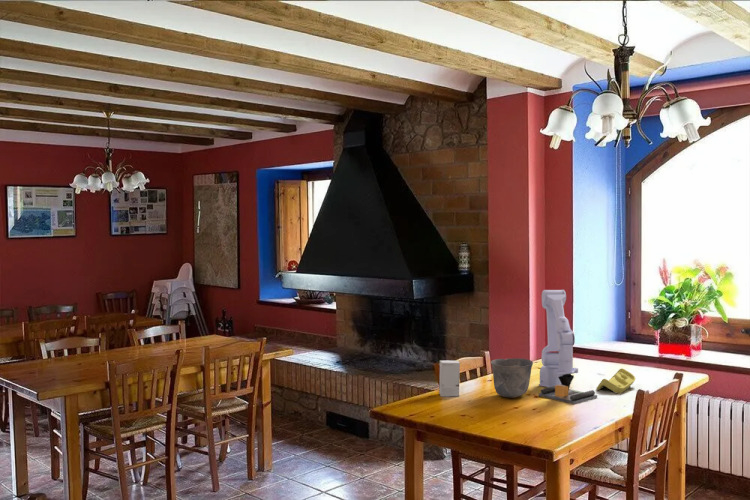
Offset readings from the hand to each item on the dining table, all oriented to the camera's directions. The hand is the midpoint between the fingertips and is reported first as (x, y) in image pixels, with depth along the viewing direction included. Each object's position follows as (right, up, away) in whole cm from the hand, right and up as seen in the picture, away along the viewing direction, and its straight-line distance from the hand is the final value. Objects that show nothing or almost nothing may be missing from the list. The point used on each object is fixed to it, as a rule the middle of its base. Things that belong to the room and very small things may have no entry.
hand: (565, 391), depth 295 cm
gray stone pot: (-22, -3, +3) cm, 22 cm away
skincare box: (-49, -3, +7) cm, 49 cm away
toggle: (-2, -1, -2) cm, 3 cm away
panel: (+1, -2, +1) cm, 3 cm away
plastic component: (+27, -2, +15) cm, 31 cm away
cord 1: (-4, -1, +7) cm, 8 cm away
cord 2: (+5, -1, -5) cm, 8 cm away
